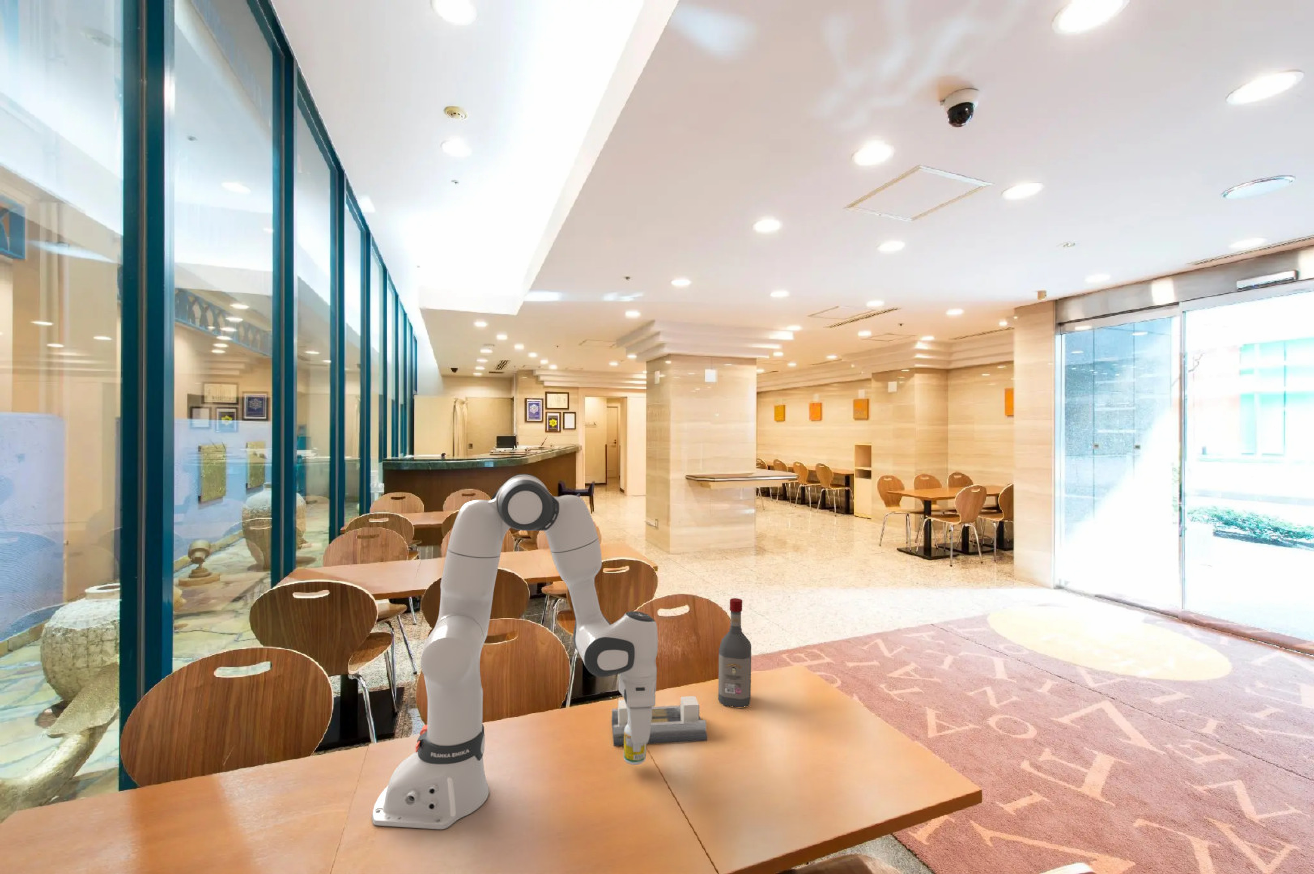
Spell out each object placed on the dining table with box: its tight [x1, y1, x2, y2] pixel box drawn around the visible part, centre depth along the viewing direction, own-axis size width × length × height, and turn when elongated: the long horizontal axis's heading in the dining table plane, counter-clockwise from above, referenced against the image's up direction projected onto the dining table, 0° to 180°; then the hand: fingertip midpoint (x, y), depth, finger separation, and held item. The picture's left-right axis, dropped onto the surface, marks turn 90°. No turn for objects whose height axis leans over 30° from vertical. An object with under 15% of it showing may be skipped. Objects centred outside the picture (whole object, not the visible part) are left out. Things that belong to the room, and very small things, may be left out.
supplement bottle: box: [622, 719, 647, 766], centre depth 125 cm, size 5×5×10 cm
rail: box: [611, 704, 708, 747], centre depth 142 cm, size 24×12×4 cm, turn 98°
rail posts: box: [617, 695, 700, 725], centre depth 142 cm, size 21×5×6 cm, turn 98°
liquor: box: [717, 597, 752, 708], centre depth 159 cm, size 9×9×30 cm
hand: (635, 741), depth 125 cm, fingers closed on supplement bottle, 5 cm apart
